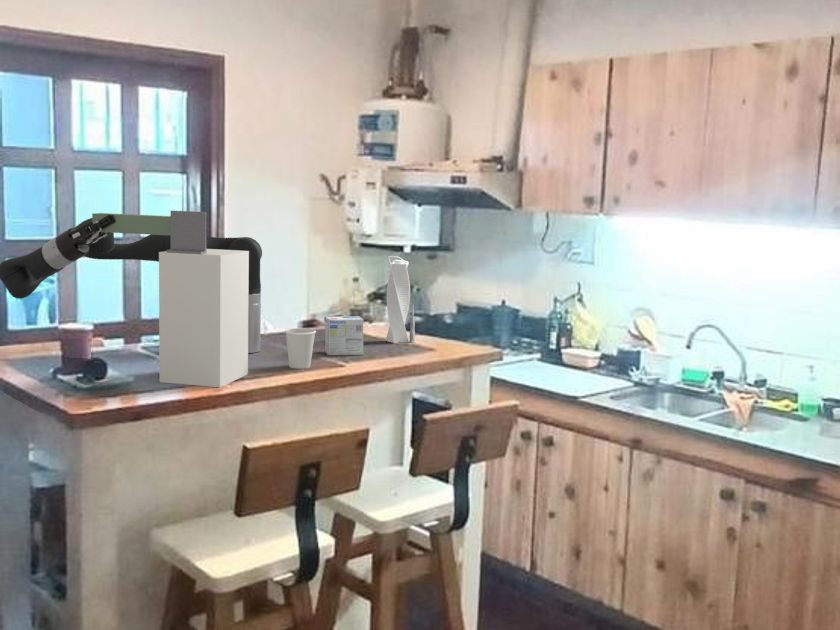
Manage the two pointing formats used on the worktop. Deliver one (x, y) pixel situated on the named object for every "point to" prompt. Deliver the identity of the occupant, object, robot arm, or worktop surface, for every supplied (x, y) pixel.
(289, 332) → the dixie cup
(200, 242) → the bookend
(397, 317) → the skyscraper
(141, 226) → the green bar
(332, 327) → the light bulb box
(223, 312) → the tall white pillar
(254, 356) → the worktop surface
